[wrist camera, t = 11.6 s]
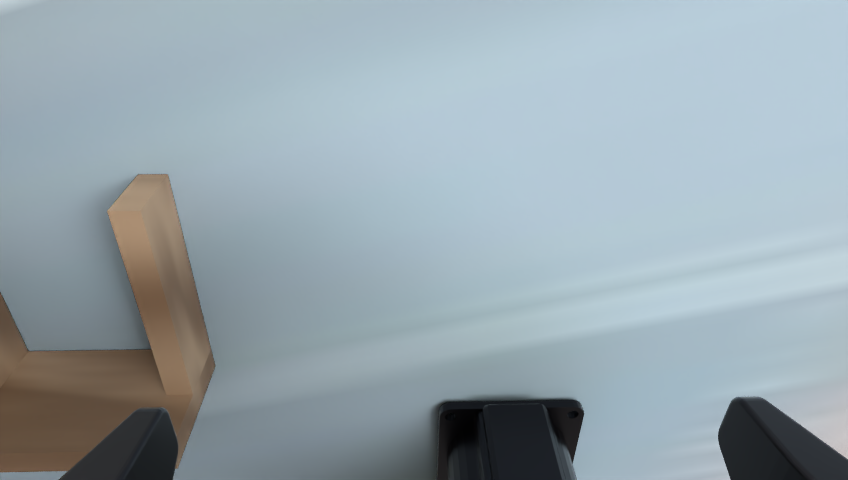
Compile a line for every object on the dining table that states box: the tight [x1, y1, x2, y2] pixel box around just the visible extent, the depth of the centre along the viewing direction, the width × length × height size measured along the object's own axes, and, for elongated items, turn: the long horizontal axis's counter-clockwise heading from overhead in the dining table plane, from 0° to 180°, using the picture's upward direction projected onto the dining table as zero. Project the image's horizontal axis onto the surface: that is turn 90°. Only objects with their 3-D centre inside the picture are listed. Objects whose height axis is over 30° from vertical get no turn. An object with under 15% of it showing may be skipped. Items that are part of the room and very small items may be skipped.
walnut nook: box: [0, 174, 215, 472], centre depth 20 cm, size 9×8×5 cm
